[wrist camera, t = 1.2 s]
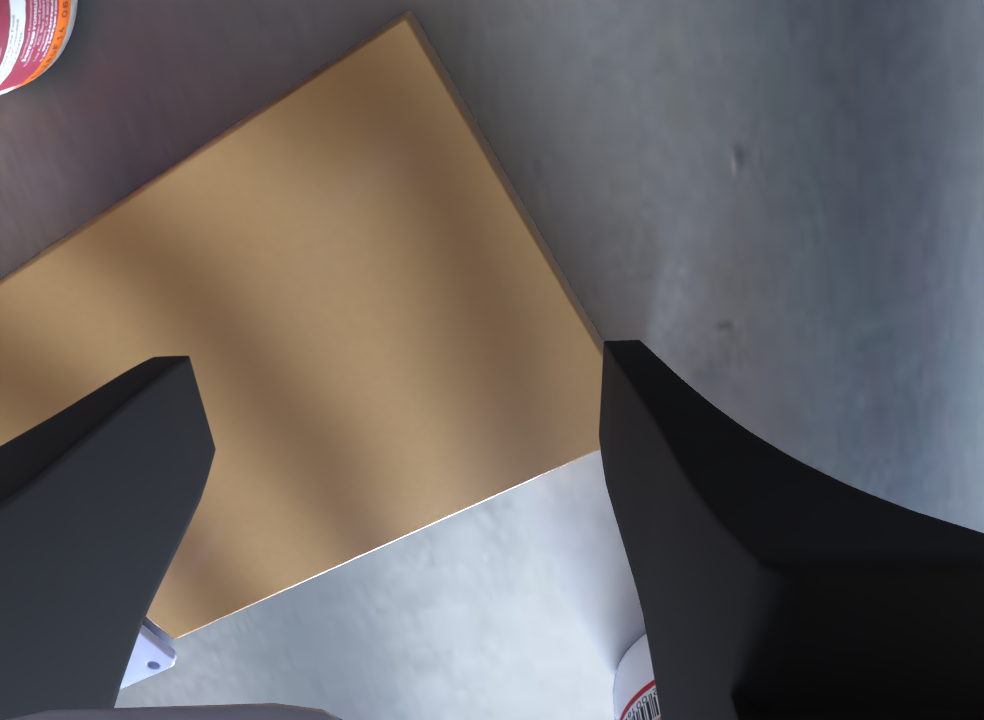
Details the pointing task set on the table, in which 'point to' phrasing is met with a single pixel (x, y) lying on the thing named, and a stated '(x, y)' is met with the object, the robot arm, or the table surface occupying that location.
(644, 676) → the fruit juice
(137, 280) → the oak board
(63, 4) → the pill bottle
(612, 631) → the table surface
